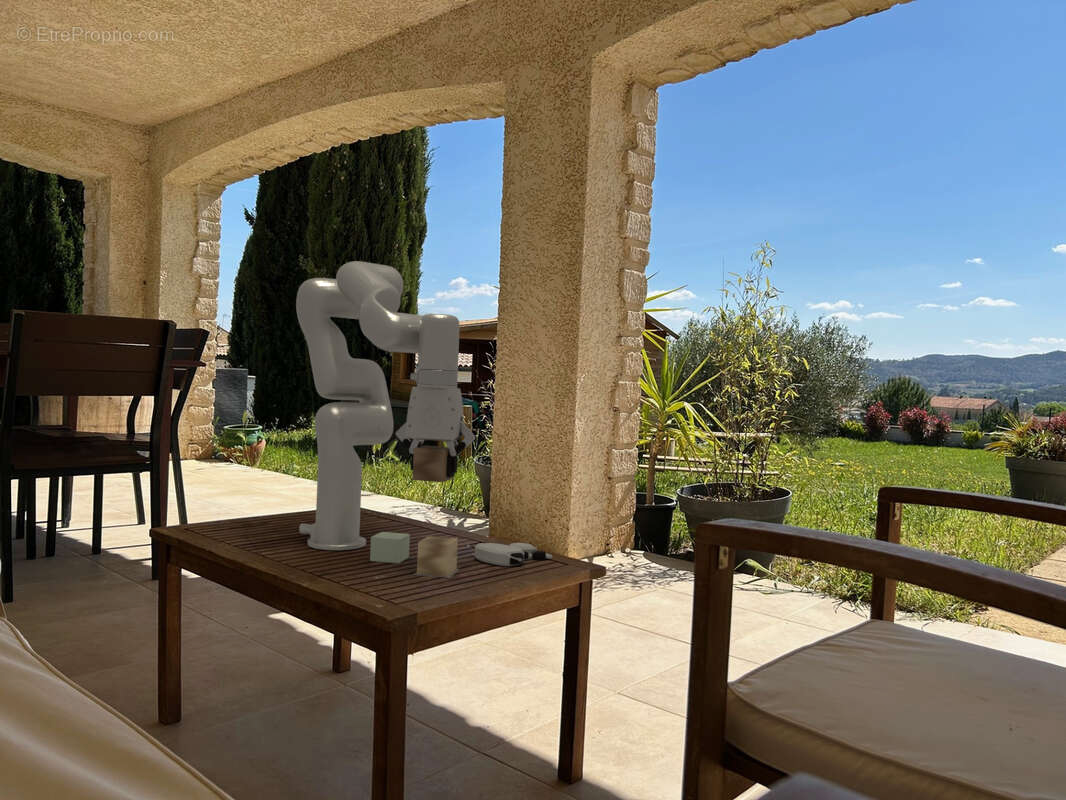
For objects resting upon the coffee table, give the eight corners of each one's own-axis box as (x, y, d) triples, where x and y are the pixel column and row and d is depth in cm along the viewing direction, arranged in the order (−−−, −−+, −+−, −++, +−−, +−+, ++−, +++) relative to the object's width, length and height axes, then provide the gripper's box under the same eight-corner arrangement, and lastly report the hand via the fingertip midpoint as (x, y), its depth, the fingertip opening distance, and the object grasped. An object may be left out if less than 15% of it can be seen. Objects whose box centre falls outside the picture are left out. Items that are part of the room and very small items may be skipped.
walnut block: (412, 480, 148) (413, 447, 148) (423, 476, 154) (424, 445, 153) (443, 482, 146) (444, 449, 146) (453, 478, 152) (454, 447, 152)
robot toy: (513, 559, 175) (462, 563, 164) (515, 538, 175) (464, 541, 164) (555, 570, 166) (504, 575, 155) (557, 548, 166) (506, 552, 155)
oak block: (416, 574, 149) (418, 542, 149) (426, 566, 155) (427, 536, 154) (447, 576, 148) (449, 544, 148) (456, 569, 154) (457, 538, 153)
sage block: (369, 567, 158) (371, 537, 158) (380, 560, 164) (381, 531, 164) (398, 569, 157) (399, 539, 157) (408, 563, 163) (409, 534, 162)
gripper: (386, 378, 148) (383, 474, 148) (476, 381, 144) (472, 480, 145) (401, 378, 155) (397, 470, 155) (486, 382, 152) (482, 476, 152)
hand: (433, 474), depth 150 cm, fingers closed on walnut block, 6 cm apart
